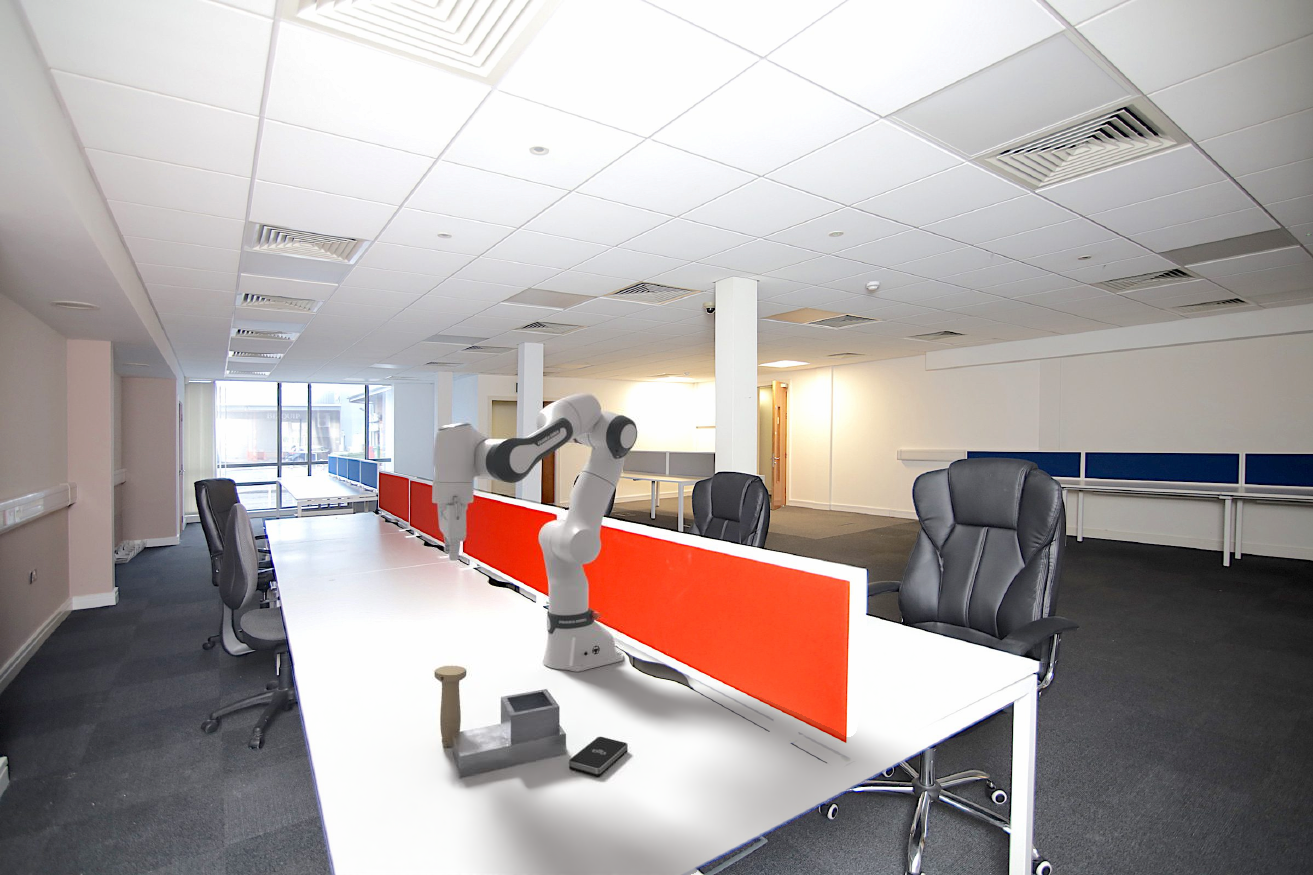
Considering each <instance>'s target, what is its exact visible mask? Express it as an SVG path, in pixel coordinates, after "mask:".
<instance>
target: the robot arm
mask: <svg viewBox="0 0 1313 875" xmlns="http://www.w3.org/2000/svg"><path fill="white" fill-rule="evenodd" d="M536 416H537V417H536V424H535V425H536V428H537V430H536V431H534V432H533V433H531V434H529V435H527V436H525V437H523V438H521V437H510V438H490V437H488V436H486V435H484V434H483V433H482V432H479V431H478V430H477V429H476V428H474V425H473V424H472V423H467V422H459V423H449V424H444V425H442V426H441V427H439V428H438V429H437V432H436V434H435V439H434V446H433V458H432V460H433V461H432V462H433V466H434V475H433V478H432V494H431V498H432V499H431V502H432V503H433V504H437V505H436V506H437V517H438V528H439V531H440V532H441V533H442V535H443V540H444V552H445V555H446V554H447V555H448V558H449V560H450V561H459V553H460V548H461V542H464V541H465V540H466V538H467V536H466V535H467V510H468V504H471V503H474V492H475V491H474V489H475V488H474V487H475V486H474V485H475V478H476V479H481V480H489V481H499V482H504V483H508V484H509V483H510V484H515V483H518V482H521V481H523V480H524V479H525V478H526V477H527V476H528V475H529V474H530V473H531V471H532V470H533V468H534V467H535V466H536V465H537V464H538V463H540V461H542V460H543V459H545V458H546V457H548V456H549V455H551V454H553V453H554V452H556V451H557V450H559V449H561V448H562V447H563V446H564V445H566V444H567V443H568V442H570V441H573V442H575V443H577V444H580V445H584V446H586V447H589V448H591V452H590V456H589V458H588V459H587V460H586V462H585V464H584V466H583V467H582V469H581V472H580V474H579V475H578V478H577V479H576V482H575V484H574V486H573V488H572V490H571V491H570V494H569V497H568V499H569V508H568V511H567V516H566V519H554V520H551V521H549V522H546V523H545V524H544V525H543V526H542V527H541V529H540V530H539V532H538V533H539V534H538V543H539V545H540V548H541V551H542V553H543V560H544V564H545V565H544V566H545V571H546V577H547V583H548V610H547V614H546V630H547V639H546V647H545V652H544V656H543V659H542V663H543V664H544V666H546V667H548V668H551V669H556V670H567V671H572V672H575V673H576V672H578V673H579V672H583V671H586V670H591V669H594V668H599V667H603V666H606V665H610V664H614V663H618V662H622V661H623V660H624V652H623V651H622V650H621V649H620V648H618V647H617V646H616V643H615V639H614V638H615V637H614V636H613V634H612V633H611V632H610V631H609V630H607V629H606V628H605V627H603V625H601V624H600V623H598V622H597V621H598V620H600V618H601V614H600V612H598V611H596V610H594V609H591V608H590V607H589V581H588V578H587V576H586V574H585V570H584V567H583V565H586V564H587V565H588V564H590V563H592V562H594V560H596V559H597V557H598V556H599V554H600V551H601V550H602V549H601V548H602V541H601V537H600V536H601V528H602V523H603V519H604V515H605V511H606V510H607V507H608V505H609V503H610V501H611V499H612V496H613V494H614V492H615V490H616V488H617V486H618V483H619V481H620V478H621V476H622V473H623V469H624V466H625V461H626V458H625V456H626V455H628V454H629V452H630V451H631V450H632V449H633V447H634V445H635V444H636V442H637V439H638V430H637V429H638V428H637V425H636V422H635V421H634V420H633V419H631V418H629V417H628V416H625V415H623V414H621V415H620V414H617V413H615V412H611V411H607V410H602V406H601V404H600V402H599V400H598V398H596V397H595V396H594V395H593V394H592V393H588V392H581V393H575V394H571V395H568V396H565V397H563V398H560V399H558V400H555V401H553V402H551V403H549V404H548V405H546V406H545V407H543V408H542V409H541V410H539V412H538V413H537V415H536ZM595 620H596V621H595Z"/></svg>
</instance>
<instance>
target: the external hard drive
mask: <svg viewBox="0 0 1313 875" xmlns="http://www.w3.org/2000/svg"><path fill="white" fill-rule="evenodd" d="M628 745H629V744H628V743H627V742H624V741H622V740H621V741H620V740H616V739H612V738H610V737H609V738H608V737H605V736H597V737H596V738H595V739H593V740H592V741H591V742H590V743H588V744H587V745H586V746H584V747H583V748H582V749H581V750H579V751H578V752H577V753H576V754H575V755H573V756H572V757H571V758H570V759H569V760H568V761H569V762H568V769H569V770H570V771H572V772H573V771H574V772H576V773H579V774H584V775H587V776H590V777H594V778H596V779H597V778H600V777H601V778H602V776H603V775H604V774H605V773H606V772H607V771H608V770H609V769H611V768H612V767H613V766H614V765H615V764H616V763H618V761H619V760H621V759H622V758H623V757H624V756H625V755H627V753H628Z"/></svg>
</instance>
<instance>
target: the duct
mask: <svg viewBox="0 0 1313 875" xmlns="http://www.w3.org/2000/svg"><path fill="white" fill-rule="evenodd" d="M560 717H561V716H560V705H559V704H558V702H557V701H556V700H555V698H554V697H553V696H552V694H551V693H550V692H549V690H548V688H545V689H538V690H533V691H527V692H521V693H517V694H515V693H514V694H510V695H504V696H500V723H497V724H491V725H488V726H483V727H477V728H471V729H466V730H462V731H461V730H460V732H456V733H453V747H452V754H453V758H454V762H455V765H456V770H457V772H458V776H459V779H463V778H467V777H472V776H476V775H480V774H481V775H482V774H485V773H486V774H487V773H489V772H490V773H491V772H494V771H499V770H503V769H507V768H511V767H516V766H521V765H525V764H530V763H533V762H539V761H541V760H547V759H551V758H555V757H560V756H565V755H567V733H566V732H565V730H564V729H563V727H562V726H561V724H560Z"/></svg>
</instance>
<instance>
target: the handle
mask: <svg viewBox="0 0 1313 875" xmlns="http://www.w3.org/2000/svg"><path fill="white" fill-rule="evenodd" d="M466 676H467V669H466V668H465V667H463V666H458V665H444V666H443V665H442V666H440V667H437V668H436V669H434V678H435V679H437V680H438V681H439V682H441V697H440V698H441V700H440V716H439V718H440V719H439V720H440V723H439V724H440V734H441V743H442V745H443V747H444V748H446V749H447V748H453V733H456V732H461V717H462V716H461V714H462V712H461V699H460V698H461V697H460V681H462V680H463V679H465V678H466Z"/></svg>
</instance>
